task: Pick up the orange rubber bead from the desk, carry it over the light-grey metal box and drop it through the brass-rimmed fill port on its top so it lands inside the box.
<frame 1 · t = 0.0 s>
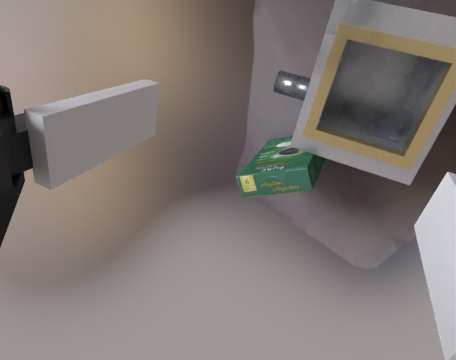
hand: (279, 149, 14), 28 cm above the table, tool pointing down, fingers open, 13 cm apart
metal box: (374, 79, 36), on the table
coffee box: (297, 143, 43), on the table
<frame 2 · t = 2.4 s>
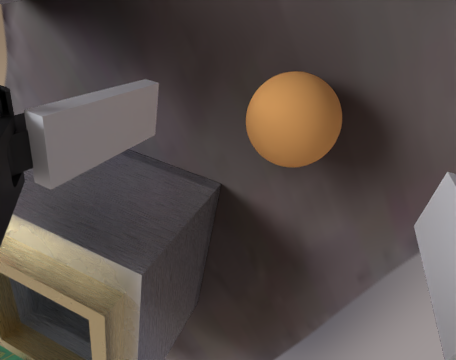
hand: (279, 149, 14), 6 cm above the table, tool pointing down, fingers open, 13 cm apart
bead: (300, 109, 19), on the table
metal box: (148, 225, 28), on the table
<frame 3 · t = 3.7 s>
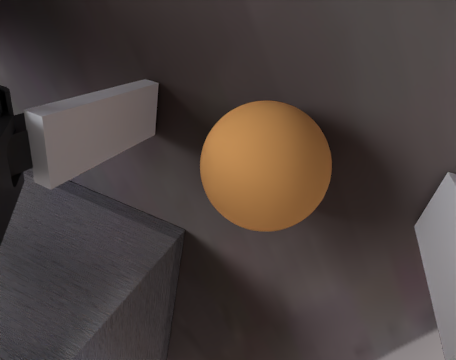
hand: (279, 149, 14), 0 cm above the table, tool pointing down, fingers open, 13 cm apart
bead: (279, 145, 14), on the table
metal box: (104, 270, 24), on the table
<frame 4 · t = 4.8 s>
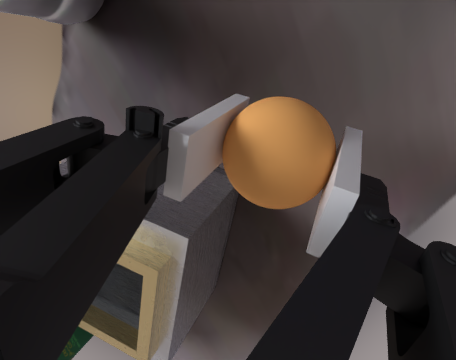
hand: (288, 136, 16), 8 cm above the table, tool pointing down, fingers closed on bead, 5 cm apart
bead: (289, 137, 16), point 8 cm above the table, touching gripper
metal box: (174, 215, 32), on the table
coffee box: (124, 263, 39), on the table
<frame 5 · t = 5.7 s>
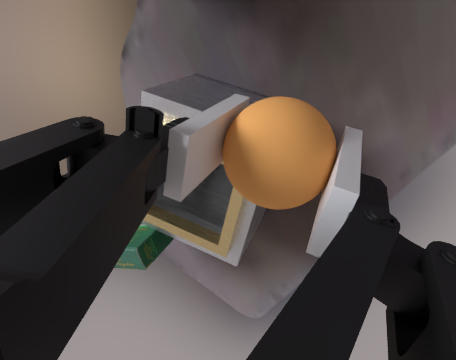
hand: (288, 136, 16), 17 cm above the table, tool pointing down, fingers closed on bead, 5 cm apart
bead: (289, 137, 16), point 17 cm above the table, touching gripper
metal box: (232, 148, 37), on the table
coffee box: (177, 199, 44), on the table
when the fingers open (13 cm above the table, at t = 7.0 s): bead drops 12 cm, resting on metal box.
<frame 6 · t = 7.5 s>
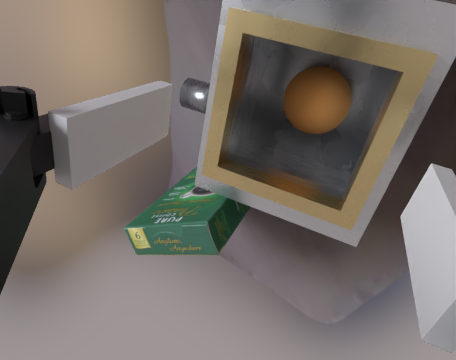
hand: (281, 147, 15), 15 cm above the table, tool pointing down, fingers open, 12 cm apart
bead: (317, 94, 26), point 1 cm above the table, tilted 6°, touching metal box
metal box: (320, 90, 27), on the table
coffee box: (233, 169, 34), on the table
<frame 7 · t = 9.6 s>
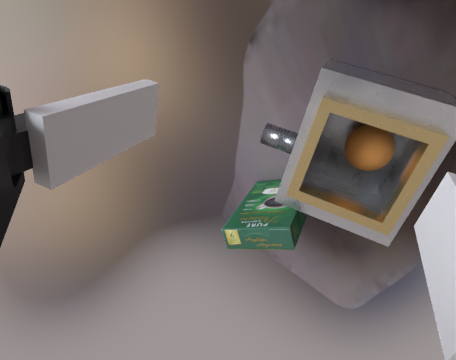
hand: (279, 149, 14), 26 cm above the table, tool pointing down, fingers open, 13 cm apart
bead: (357, 138, 36), point 1 cm above the table, tilted 30°, touching metal box
metal box: (358, 134, 37), on the table
coffee box: (284, 186, 44), on the table
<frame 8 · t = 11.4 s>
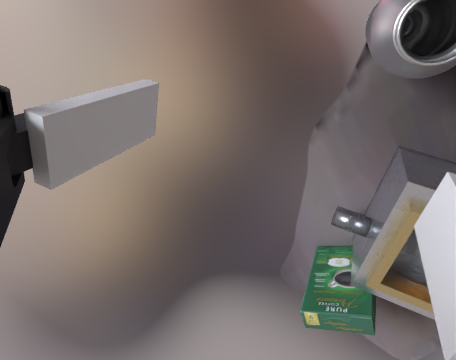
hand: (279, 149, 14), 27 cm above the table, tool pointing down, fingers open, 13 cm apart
metal box: (423, 211, 39), on the table
coffee box: (344, 251, 46), on the table
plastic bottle: (401, 25, 32), on the table
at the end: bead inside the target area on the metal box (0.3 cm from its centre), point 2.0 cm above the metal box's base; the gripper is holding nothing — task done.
